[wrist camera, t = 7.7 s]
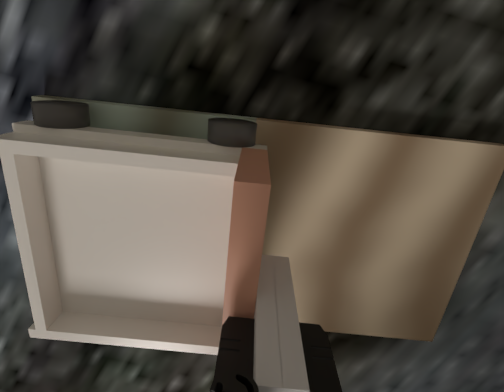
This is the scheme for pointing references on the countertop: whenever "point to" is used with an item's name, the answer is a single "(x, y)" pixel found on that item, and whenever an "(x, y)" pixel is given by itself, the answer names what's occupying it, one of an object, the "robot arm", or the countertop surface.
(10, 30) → the countertop surface
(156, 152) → the cart
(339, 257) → the cutting board
